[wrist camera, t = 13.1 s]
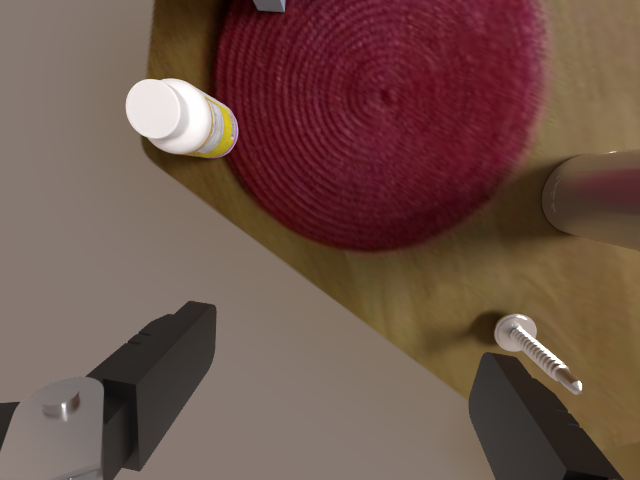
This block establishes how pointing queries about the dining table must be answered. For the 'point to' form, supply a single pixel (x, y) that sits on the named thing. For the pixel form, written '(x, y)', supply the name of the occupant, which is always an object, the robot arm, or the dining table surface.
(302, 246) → the dining table surface
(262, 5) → the pale blue notched block
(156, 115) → the supplement bottle
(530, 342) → the screw
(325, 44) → the dining table surface
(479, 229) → the dining table surface
